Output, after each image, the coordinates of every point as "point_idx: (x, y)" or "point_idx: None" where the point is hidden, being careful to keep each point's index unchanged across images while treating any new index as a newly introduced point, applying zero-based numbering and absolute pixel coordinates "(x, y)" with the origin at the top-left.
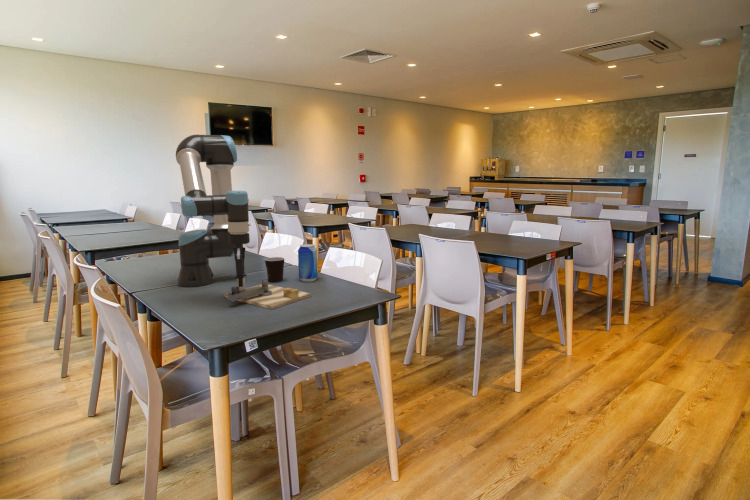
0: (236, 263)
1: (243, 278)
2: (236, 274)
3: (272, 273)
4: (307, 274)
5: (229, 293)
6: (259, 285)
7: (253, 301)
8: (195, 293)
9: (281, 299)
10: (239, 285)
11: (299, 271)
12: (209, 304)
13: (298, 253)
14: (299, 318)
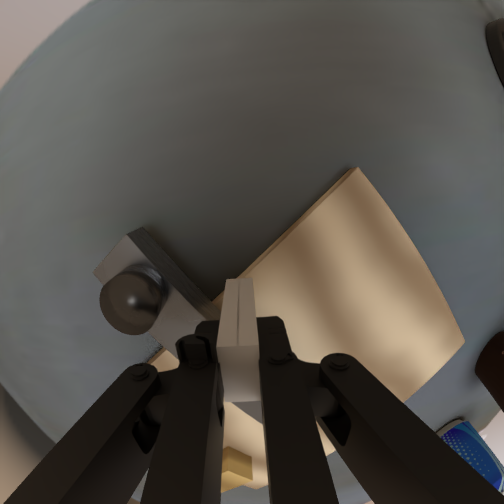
0: (27, 490)
1: (224, 392)
2: (107, 389)
3: (499, 371)
4: None
5: (128, 250)
6: (449, 333)
7: (163, 354)
8: (423, 41)
9: None
10: (197, 332)
11: (460, 442)
12: (208, 107)
13: (490, 479)
14: (56, 433)
